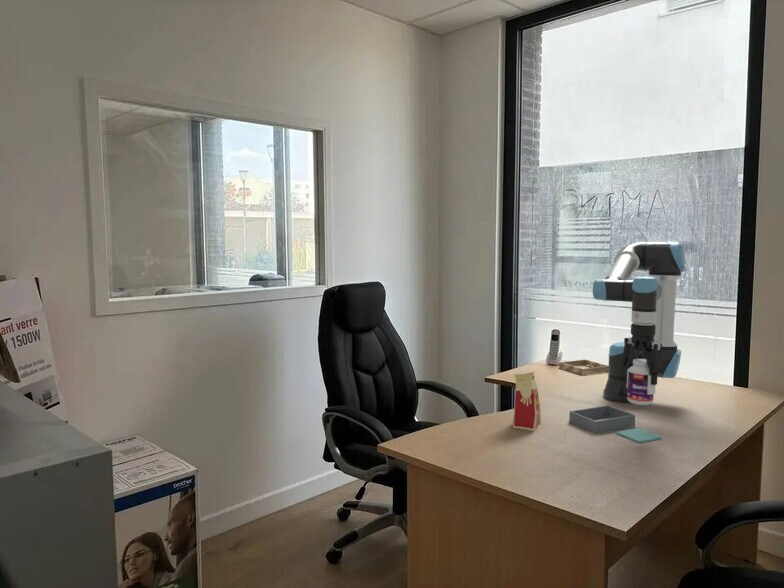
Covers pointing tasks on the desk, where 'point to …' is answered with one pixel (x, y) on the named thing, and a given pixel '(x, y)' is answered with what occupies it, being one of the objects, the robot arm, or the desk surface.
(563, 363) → the wooden square tray
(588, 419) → the rectangular frame
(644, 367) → the pill bottle
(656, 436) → the pad
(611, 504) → the desk surface
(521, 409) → the milk carton
